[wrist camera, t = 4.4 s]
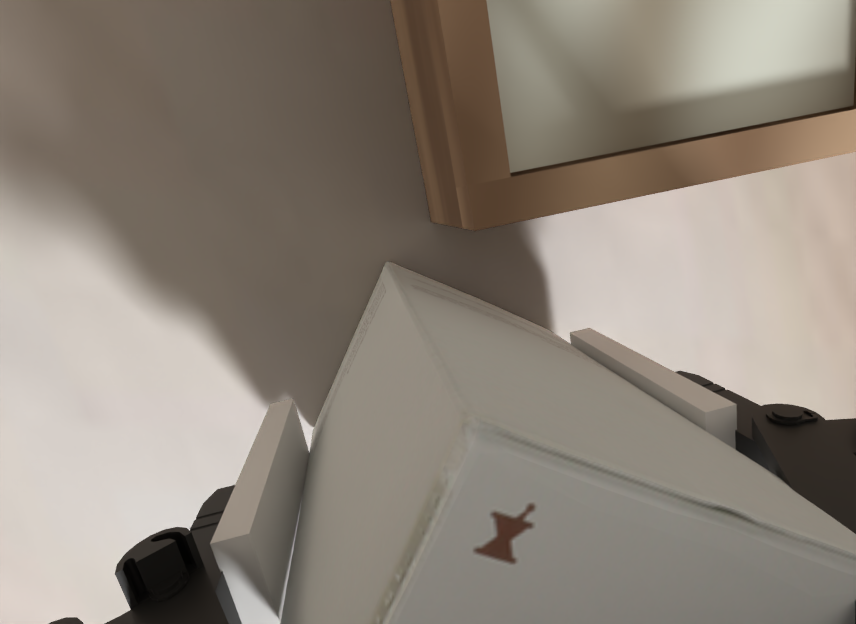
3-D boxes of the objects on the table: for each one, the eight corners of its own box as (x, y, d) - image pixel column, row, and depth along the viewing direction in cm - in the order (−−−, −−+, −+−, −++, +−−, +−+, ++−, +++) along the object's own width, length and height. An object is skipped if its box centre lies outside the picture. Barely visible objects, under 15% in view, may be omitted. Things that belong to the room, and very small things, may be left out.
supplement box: (306, 433, 17) (191, 970, 5) (385, 255, 16) (474, 398, 4) (476, 490, 19) (691, 994, 7) (557, 331, 18) (982, 594, 6)
